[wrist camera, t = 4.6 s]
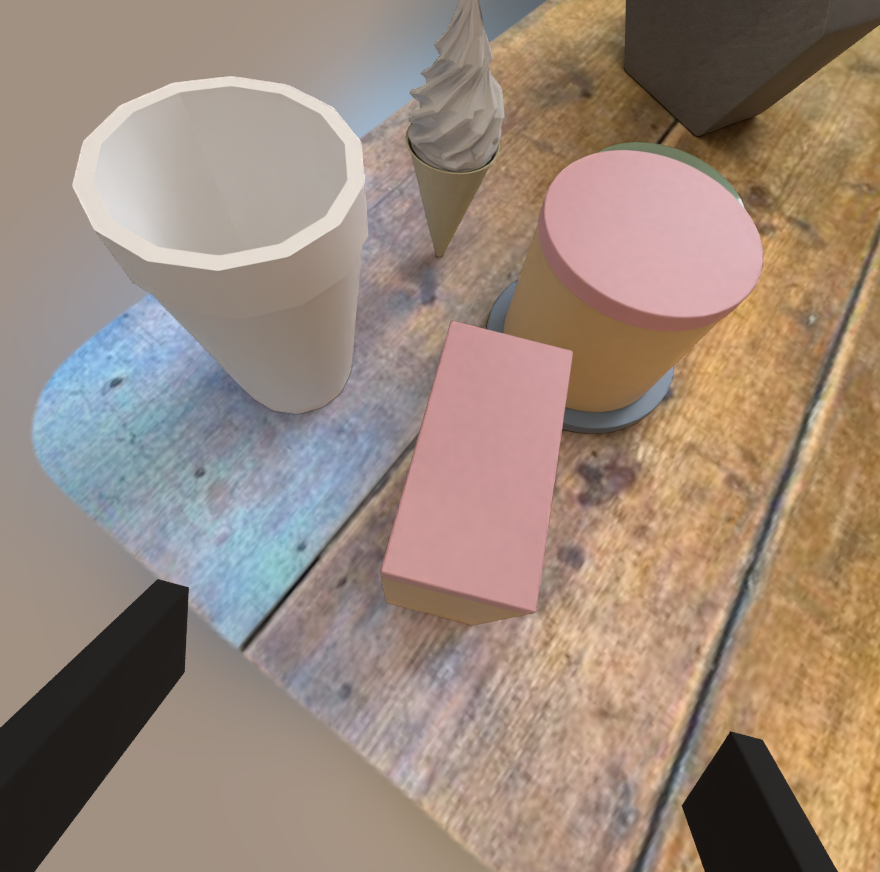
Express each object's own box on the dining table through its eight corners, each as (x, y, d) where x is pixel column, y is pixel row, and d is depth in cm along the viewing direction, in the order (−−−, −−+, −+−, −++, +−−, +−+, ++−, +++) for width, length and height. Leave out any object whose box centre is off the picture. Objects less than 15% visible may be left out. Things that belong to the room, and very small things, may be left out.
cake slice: (474, 625, 23) (536, 613, 13) (385, 602, 23) (379, 572, 13) (506, 459, 27) (573, 350, 17) (429, 440, 27) (451, 319, 17)
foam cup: (282, 471, 25) (184, 322, 13) (180, 363, 27) (15, 149, 15) (409, 368, 29) (420, 174, 17) (309, 278, 31) (255, 47, 19)
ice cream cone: (473, 229, 34) (529, -55, 20) (477, 285, 32) (542, 12, 18) (402, 225, 33) (409, -68, 19) (402, 281, 31) (409, -1, 17)
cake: (455, 385, 28) (484, 267, 19) (520, 251, 33) (568, 108, 24) (645, 465, 27) (767, 380, 18) (683, 316, 32) (795, 190, 23)
